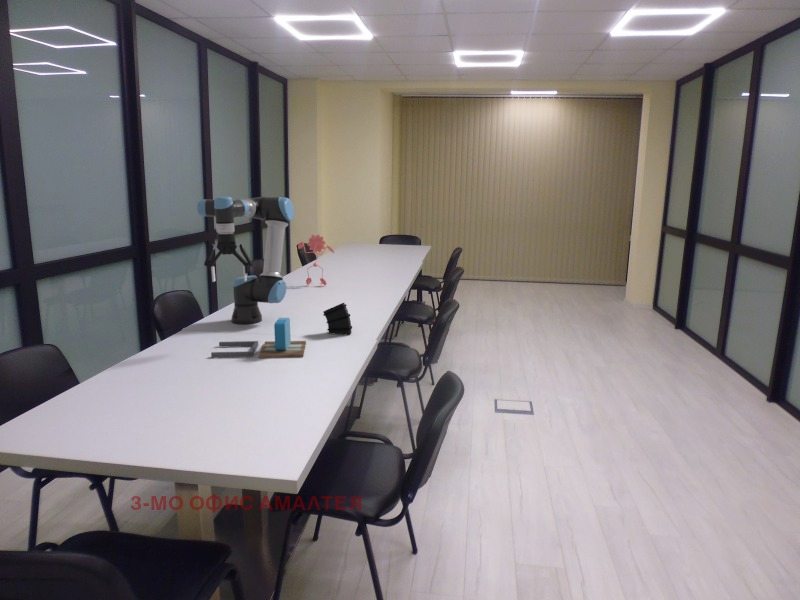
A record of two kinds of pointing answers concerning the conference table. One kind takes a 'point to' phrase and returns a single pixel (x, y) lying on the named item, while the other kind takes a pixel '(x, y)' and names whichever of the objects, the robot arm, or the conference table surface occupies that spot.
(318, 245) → the figurine
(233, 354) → the grey u-shaped frame
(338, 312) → the magazine
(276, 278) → the robot arm
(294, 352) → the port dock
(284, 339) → the data package
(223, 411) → the conference table surface
